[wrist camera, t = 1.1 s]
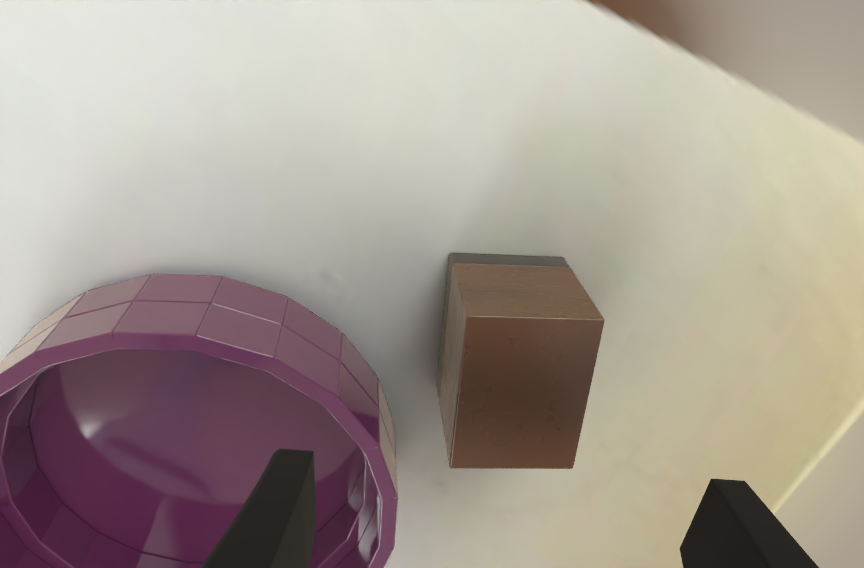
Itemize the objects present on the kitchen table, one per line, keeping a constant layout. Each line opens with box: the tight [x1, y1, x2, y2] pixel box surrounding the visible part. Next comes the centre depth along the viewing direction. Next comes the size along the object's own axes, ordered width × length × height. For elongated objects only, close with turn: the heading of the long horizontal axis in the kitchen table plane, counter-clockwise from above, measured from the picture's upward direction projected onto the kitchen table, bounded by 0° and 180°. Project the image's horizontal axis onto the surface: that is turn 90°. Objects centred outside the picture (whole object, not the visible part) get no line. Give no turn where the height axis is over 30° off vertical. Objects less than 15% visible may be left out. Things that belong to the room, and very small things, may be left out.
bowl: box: [0, 274, 398, 568], centre depth 25 cm, size 15×15×5 cm
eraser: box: [437, 253, 604, 469], centre depth 24 cm, size 6×4×5 cm
